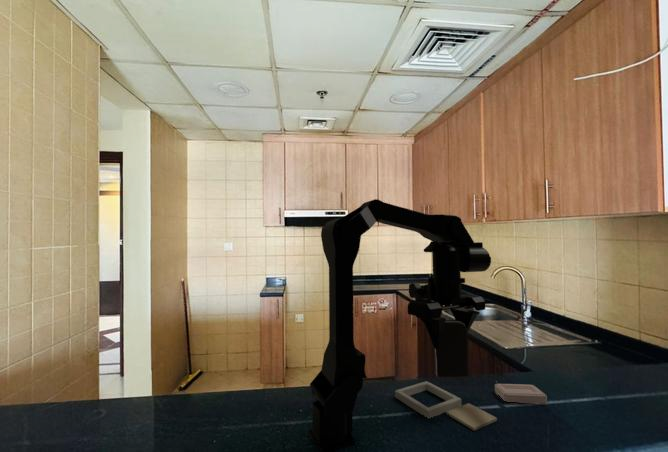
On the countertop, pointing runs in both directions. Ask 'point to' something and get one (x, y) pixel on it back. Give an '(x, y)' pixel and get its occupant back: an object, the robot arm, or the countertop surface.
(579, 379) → the countertop surface
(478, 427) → the pad
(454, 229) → the robot arm
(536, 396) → the soap bar
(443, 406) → the frame
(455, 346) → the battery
